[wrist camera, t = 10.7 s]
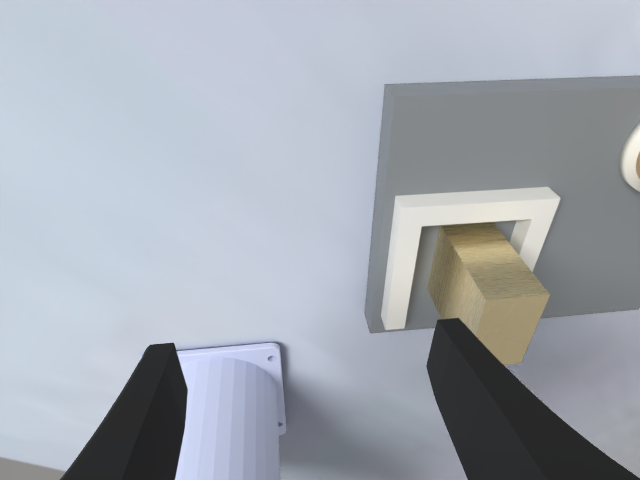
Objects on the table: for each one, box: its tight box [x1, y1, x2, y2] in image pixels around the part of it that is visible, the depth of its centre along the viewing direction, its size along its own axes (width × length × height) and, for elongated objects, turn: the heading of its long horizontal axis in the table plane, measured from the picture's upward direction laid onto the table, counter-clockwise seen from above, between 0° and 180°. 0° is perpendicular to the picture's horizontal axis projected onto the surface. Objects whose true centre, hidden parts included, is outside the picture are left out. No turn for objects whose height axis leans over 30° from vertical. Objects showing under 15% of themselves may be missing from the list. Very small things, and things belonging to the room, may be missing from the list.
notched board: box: [365, 76, 640, 333], centre depth 21 cm, size 13×16×2 cm
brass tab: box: [427, 222, 550, 365], centre depth 19 cm, size 4×2×5 cm, turn 0°
